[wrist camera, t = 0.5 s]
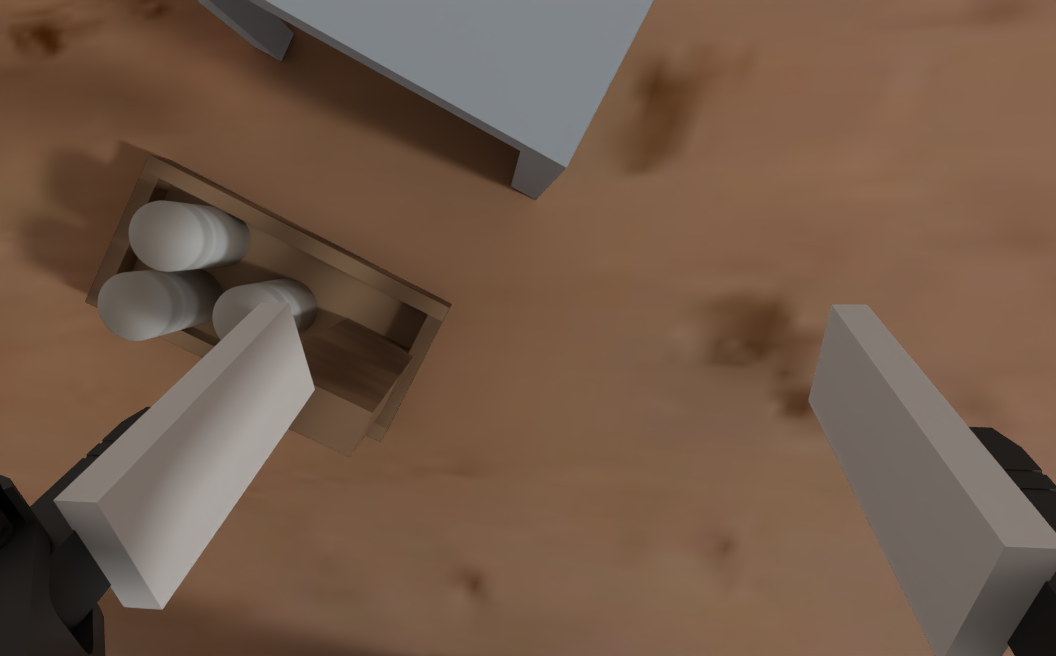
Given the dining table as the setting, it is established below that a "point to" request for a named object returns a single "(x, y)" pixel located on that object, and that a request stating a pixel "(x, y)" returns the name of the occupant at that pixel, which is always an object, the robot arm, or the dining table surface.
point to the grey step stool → (473, 59)
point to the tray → (348, 314)
